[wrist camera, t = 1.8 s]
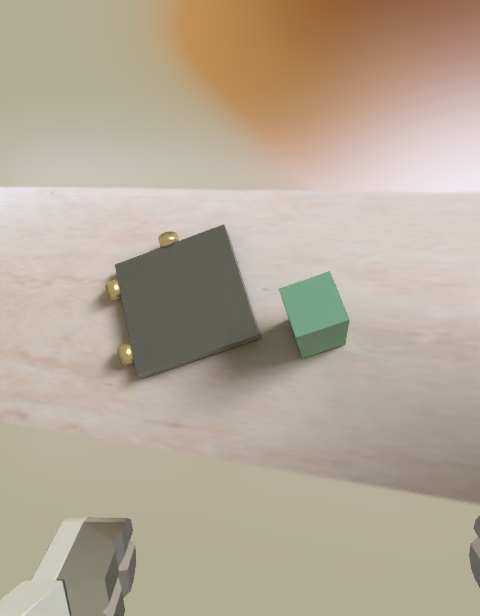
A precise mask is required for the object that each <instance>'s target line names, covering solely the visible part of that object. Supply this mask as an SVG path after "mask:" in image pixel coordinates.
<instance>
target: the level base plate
mask: <svg viewBox="0 0 480 616" xmlns="http://www.w3.org/2000/svg"><path fill="white" fill-rule="evenodd" d="M158 240H159V244H160V248H159V249H156V250H154V251H151V252H148V253H145V254H143V255H140V256H137V257H135V258H132V259H129V260H126V261H124V262H121V263H118V264H116V265H115V268H116V273H117V278H118V279H115V280H112V281H110V282H107V283H106V291H107V294H108V296H109V297H110V299H111V300H113V301H115V300H118V299H121V298H122V304H123V309H124V314H125V319H126V324H127V329H128V334H129V339H130V342H129V343H126V344H123V345H120V346H118V349H117V352H118V357H119V359H120V361H121V363H122V364H123V365H125V366H126V365H129V364H132V363H134V365H135V370H136V375H137V376H139V377H142V378H145V377H148V376H151V375H154V374H157V373H160V372H163V371H166V370H169V369H172V368H175V367H178V366H181V365H184V364H187V363H190V362H193V361H196V360H199V359H202V358H204V357H207V356H210V355H213V354H216V353H219V352H222V351H225V350H228V349H231V348H234V347H237V346H240V345H243V344H246V343H249V342H252V341H255V340H258V339H261V336H260V333H259V330H258V326H257V323H256V320H255V317H254V314H253V311H252V307H251V304H250V301H249V298H248V295H247V292H246V289H245V285H244V282H243V279H242V276H241V273H240V270H239V267H238V263H237V260H236V257H235V254H234V251H233V248H232V245H231V241H230V238H229V235H228V232H227V230H226V228H225V226H224V225H221V226H219V227H216V228H213V229H210V230H208V231H205V232H202V233H200V234H197V235H194V236H191V237H189V238H186V239H183V240H181V241H179V239H178V236H177V234H176V233H175V232H165V233H163V234H161V235H160V236H159V238H158Z"/></svg>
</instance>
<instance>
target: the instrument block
mask: <svg viewBox="0 0 480 616" xmlns="http://www.w3.org/2000/svg"><path fill="white" fill-rule="evenodd" d="M279 291H280V294H281V297H282V300H283V303H284V306H285V309H286V312H287V315H288V318H289V321H290V324H291V327H292V330H293V333H294V336H295V338H296V341H297V344H298V347H299V350H300V353H301V356H302V358H305V357H308V356H311V355H314V354H317V353H321V352H324V351H327V350H330V349H333V348H336V347H339V346H342V345H345V343H346V337H347V331H348V325H349V317H348V315H347V313H346V310H345V308H344V305H343V303H342V300H341V298H340V295H339V293H338V290H337V288H336V285H335V283H334V280H333V278H332V276H331V273H330V271H329V272H326V273H323V274H320V275H317V276H315V277H312V278H309V279H304V280H301V281H299V282H297V283H294V284H292V285H289V286H286V287H283V288H280V289H279Z"/></svg>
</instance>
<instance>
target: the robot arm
mask: <svg viewBox="0 0 480 616" xmlns="http://www.w3.org/2000/svg"><path fill="white" fill-rule="evenodd" d="M474 530H475V532H476V533H477V535H478V536H479V537H478V538H477V539H476V540H475V541H474V542H472V543H471V547H470V554H469V557H470V563H471V569H472V572H473V574H474V577H475V580H476V581H477V583H478V585H479V587H480V516H479V517H478V518H477V519H476V521H475V525H474ZM132 531H133V529H132V523H131V520H130V519H128V518H89V517H88V518H70V517H68V518H66V519H65V520H64V521H63V522H62V523H61V525H60V527H59V529H58V531H57V532H56V534H55V536H54V538H53V540H52V542H51V543H50V545H49V547H48V549H47V551H46V553H45V555H44V557H43V558H42V560H41V562H40V564H39V566H38V568H37V569H36V571H35V573H34V575H33V577H32V579H31V580H30V581H23V582H22V583H20V584H19V585H18V586H17V587H15V588H14V589H13V590H12V591H10V592H9V593H8V594H7V595H5V596H4V597H3V598H1V599H0V616H124V612H125V608H124V601H123V598H124V597H125V596H126V595H127V594H128V593H129V592H130V591H131V587H132V583H133V580H134V574H135V566H136V550H135V545H134V544H133V543H132V542H131V541H130V538H131V535H132Z"/></svg>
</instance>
